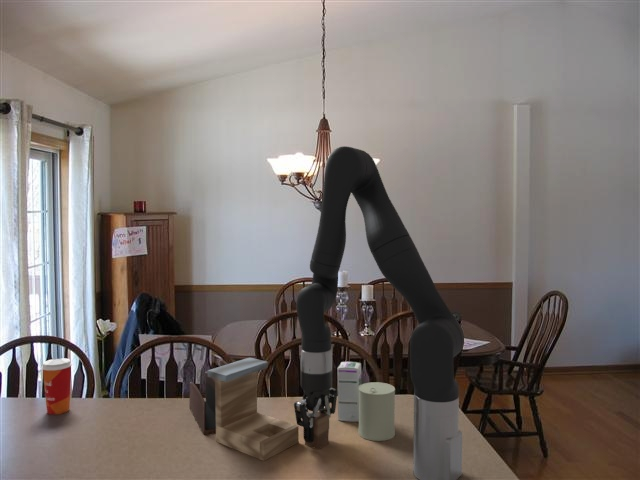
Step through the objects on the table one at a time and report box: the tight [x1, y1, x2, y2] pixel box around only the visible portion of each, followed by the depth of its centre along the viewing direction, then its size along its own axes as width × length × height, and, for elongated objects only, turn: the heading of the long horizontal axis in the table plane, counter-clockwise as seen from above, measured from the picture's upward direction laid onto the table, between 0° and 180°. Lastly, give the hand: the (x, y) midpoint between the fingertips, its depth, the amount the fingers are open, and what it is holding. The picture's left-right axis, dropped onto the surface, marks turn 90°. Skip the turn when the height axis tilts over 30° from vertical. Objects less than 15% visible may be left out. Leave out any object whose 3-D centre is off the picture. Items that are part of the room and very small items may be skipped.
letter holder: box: [188, 359, 229, 435], centre depth 144 cm, size 10×20×14 cm, turn 24°
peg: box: [304, 411, 329, 450], centre depth 128 cm, size 4×4×7 cm
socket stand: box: [207, 357, 300, 462], centre depth 130 cm, size 18×14×18 cm
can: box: [357, 381, 396, 442], centre depth 134 cm, size 9×9×12 cm
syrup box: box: [337, 361, 362, 423], centre depth 144 cm, size 6×6×14 cm
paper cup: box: [41, 357, 73, 415], centre depth 149 cm, size 8×8×14 cm
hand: (316, 437), depth 128 cm, fingers open, 5 cm apart
